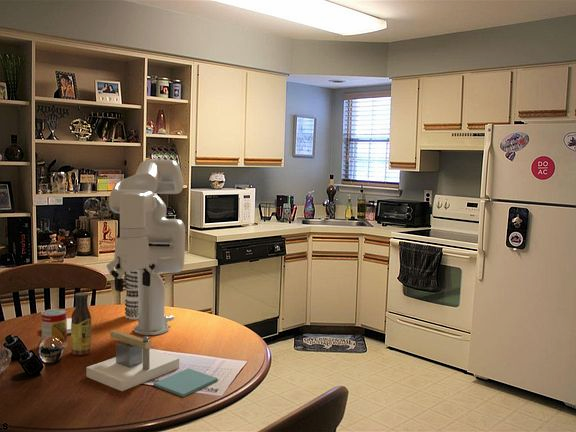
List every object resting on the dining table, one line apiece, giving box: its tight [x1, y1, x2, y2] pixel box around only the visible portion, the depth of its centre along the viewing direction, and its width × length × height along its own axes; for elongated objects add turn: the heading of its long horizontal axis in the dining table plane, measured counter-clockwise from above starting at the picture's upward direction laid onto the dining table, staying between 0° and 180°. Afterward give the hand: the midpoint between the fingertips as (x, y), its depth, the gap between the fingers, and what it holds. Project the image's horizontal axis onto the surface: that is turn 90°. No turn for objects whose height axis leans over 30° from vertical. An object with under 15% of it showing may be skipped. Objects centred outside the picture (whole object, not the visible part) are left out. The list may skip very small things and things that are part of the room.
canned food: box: [40, 308, 68, 349], centre depth 190 cm, size 8×8×12 cm
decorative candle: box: [123, 270, 138, 320], centre depth 226 cm, size 9×9×25 cm
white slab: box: [86, 348, 180, 392], centre depth 171 cm, size 22×16×10 cm
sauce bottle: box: [70, 292, 92, 356], centre depth 185 cm, size 7×6×20 cm
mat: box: [153, 367, 219, 398], centre depth 164 cm, size 14×12×1 cm
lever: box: [110, 329, 152, 349], centre depth 169 cm, size 2×16×3 cm, turn 55°
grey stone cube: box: [115, 341, 142, 368], centre depth 170 cm, size 5×6×6 cm
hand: (133, 288), depth 173 cm, fingers open, 9 cm apart
